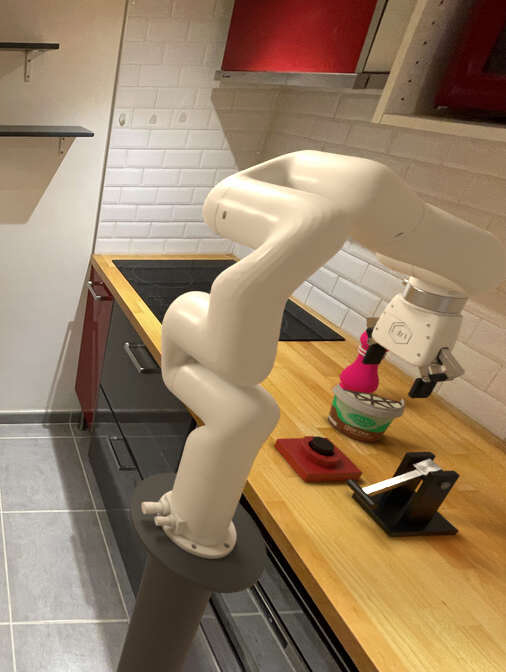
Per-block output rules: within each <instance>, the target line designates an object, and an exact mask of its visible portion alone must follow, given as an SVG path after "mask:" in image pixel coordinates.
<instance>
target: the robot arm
mask: <svg viewBox="0 0 506 672" xmlns="http://www.w3.org/2000/svg"><path fill="white" fill-rule="evenodd" d="M202 219H203V221H204V224H205V225H206V226H207V228H208V229H209V230H210V231H211V232H212V233H214V234H215V235H217V236H220V237H222V238H224V239H227V240H229V241H232V242H233V243H234V242H235V243H237V244H239V245H242V246H245V247H247V248H248V249H252V250H254V251H252V252H251V253H249V254H248V255H247V256H245V257H243V258H242V259H241V260H239V261H238V262H236V263H234V264H232V265H231V266H229V267H227V268H226V269H225V270H223V271H222V272H221V273H219V275H217V276H216V278H215V279H214V281H213V282H212V284H211V289H210V291H209V293H208V292H204V291H196V290H195V291H188V292H185V293H183V294H181V295H179V296H178V297H177V298H176V299H174V300H173V301H172V303H171V304H170V305H169V307H168V308H167V310H166V312H165V313H164V317H163V320H162V323H161V334H160V344H161V345H160V350H161V351H160V355H161V356H160V357H161V359H160V360H161V361H160V363H161V365H160V366H161V367H160V368H161V376H162V380H163V383H164V385H165V386H166V388H167V389H168V391H169V392H170V393H172V394H173V395H174V396H175V397H176V398H177V399H178V400H179V401H181V403H183V404H184V406H186V407H188V408H189V409H190V410H191V411H192V412H193V413H194V414H195V415H196V416H197V417H198V418H199V419H200V420H201V421H202V422H203V423H204V425H202V426H199V427H196V428H195V429H193V430H192V431H191V432H190V433H189V434H188V436H187V438H186V441H185V444H184V447H183V451H182V455H181V459H180V461H179V466H178V469H177V472H176V473H177V476H176V479H175V483H174V486H173V490H172V491H169V492H167V493H166V494H164V495H163V496H162V498H161V499H160V500H159V501H158V502H142V504H141V507H142V511H143V513H144V514H155V513H157V514H158V517H155V518H154V520H155V524H156V525H157V526H161V527H162V528H163V530H164V531H165V533H166V534H167V536H168V537H169V538H170V539H171V540H172V541H173V542H174V543H176V544H177V545H178V546H179V547H181V548H182V549H184V550H185V551H187V552H189V553H191V554H193V555H196V556H199V557H202V558H208V559H218V558H222V557H225V556H226V555H228V554H229V553H230V552H231V551H232V550H233V548H234V546H235V543H236V539H237V538H236V530H235V526H234V524H233V522H232V518H233V516H234V513H235V510H236V508H237V505H238V503H239V502H240V500H241V497H242V494H243V492H244V489H245V486H246V484H247V480H248V479H249V475H250V473H251V470H252V467H253V466H254V463H255V460H256V458H257V457H258V454H259V452H260V450H261V449H262V447H263V445H264V444H265V443H266V441H267V440H268V438H269V437H270V436H271V435H272V433H273V432H274V430H275V429H276V427H277V426H278V424H279V421H280V418H281V409H280V406H279V403H278V401H277V400H276V399H275V397H274V396H273V395H272V394H271V393H270V392H269V391H268V389H266V388H265V387H264V386H262V385H261V383H263V382H264V381H265V380H266V379H267V378H268V377H269V376H270V375H271V372H272V371H273V368H274V365H275V362H276V357H277V352H278V347H279V341H280V334H281V328H282V323H283V322H282V321H283V316H284V311H285V307H286V303H287V302H288V300H289V298H290V297H291V296H292V295H293V294H294V292H295V291H296V290H298V288H299V287H300V286H302V285H303V284H304V283H305V282H306V281H307V280H308V279H310V278H311V277H312V276H313V275H314V274H315V273H316V272H318V271H319V270H320V269H321V268H322V267H323V266H325V265H326V264H327V263H328V262H329V261H330V260H331V259H333V258H334V257H335V256H336V255H337V254H338V253H339V252H340V250H342V249H343V247H344V245H345V244H346V242H347V241H348V239H349V237H350V238H352V239H353V240H354V241H355V242H357V243H358V244H360V245H361V246H362V247H364V248H366V249H368V250H370V251H372V252H375V256H376V258H377V260H378V261H379V263H380V264H381V265H383V266H384V267H385V268H387V269H389V270H392V271H395V272H397V273H400V274H403V275H406V276H408V277H409V278H405V279H404V280H403V281H402V285H403V286H404V289H403V291H402V292H400V293H397V294H396V295H395V296H394V297H393V298H392V299H391V301H389V303H388V304H387V306H386V307H385V308H384V310H383V311H382V313H381V315H380V316H368V317H366V329H365V331H366V333H367V336H368V340H367V344H368V345H369V347H368V349H367V351H366V353H365V356H364V358H363V360H362V363H363V364H366V365H370V364H379V365H380V364H381V362H382V361H383V360H382V358H383V356H384V354H385V352H386V350H389V352H390V353H392V354H393V355H394V356H396V357H398V358H399V359H401V360H403V361H404V362H406V363H407V364H409V365H411V366H413V367H417V368H418V371H419V375H420V377H416V378H415V380H414V382H413V384H412V386H411V388H410V389H409V391H408V393H407V397H409V398H410V399H427V398H429V397H430V396H431V395H432V393H433V391H434V389H435V388H436V386H437V384H438V383H443V382H451V381H454V380H455V379H457V378H459V377H461V376H463V375H464V374H465V373H466V372H465V369H464V368H463V367H462V365H461V364H460V363H459V362H458V360H457V359H456V358H455V356H454V355H453V354H452V353H453V350H454V348H455V345H456V343H457V341H458V339H459V335H460V331H461V328H462V325H463V324H462V323H463V318H464V316H463V315H462V314H461V313H462V312H463V310H464V308H465V306H466V304H467V302H468V300H469V298H470V296H480V295H484V294H487V293H490V292H491V291H493V290H495V289H496V288H497V287H499V286H500V285H501V284H502V283H503V282H504V281H505V279H506V246H505V245H504V244H503V243H502V242H501V241H500V239H498V238H497V236H496V235H495V234H494V233H492V232H491V231H488V230H485V229H483V228H481V227H479V226H477V225H475V224H473V223H471V222H468V221H466V220H463V219H462V218H459V217H457V216H456V215H453V214H451V213H450V212H447V211H445V210H443V209H441V208H440V207H437V206H435V205H433V204H430V203H428V202H425V201H424V200H423V199H422V198H421V197H420V196H419V195H418V194H417V193H416V192H415V191H414V190H413V189H412V188H411V187H410V186H409V185H408V184H407V183H406V182H405V181H404V179H402V178H401V177H400V176H399V175H398V174H397V173H396V172H395V171H394V170H392V168H390V167H389V166H387V165H385V164H384V163H382V162H379V161H376V160H373V159H369V158H364V157H358V156H352V155H345V154H339V153H334V152H327V151H321V150H315V149H305V150H298V151H294V152H290V153H286V154H283V155H280V156H277V157H275V158H271V159H269V160H267V161H264V162H262V163H259V164H256V165H254V166H251V167H249V168H246V169H244V170H240V171H238V172H236V173H234V174H232V175H230V176H228V177H226V178H224V179H222V180H221V181H220V182H219V183H217V184H216V185H215V186H214V187H213V188H212V189H211V190H210V192H209V193H208V194H207V196H206V198H205V200H204V202H203V206H202ZM386 353H387V352H386ZM443 366H444V367H445V370H444V371H443V370H442V367H443ZM429 367H430V368H429ZM430 371H431V372H430Z"/></svg>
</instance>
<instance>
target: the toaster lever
mask: <svg viewBox="0 0 506 672" xmlns="http://www.w3.org/2000/svg"><path fill="white" fill-rule="evenodd" d="M413 469H414V471H411V472H408V473H406V474H403V475H400V476H397V477H394V478H392V477H391V478H388V479H386V480H382V481H380V482H377V483H375V484H374V483H373V484H372V485H367V486H365V487H362V486H361V485H360V484H359V483H358V482H357V480H353V479H350V480H348V481H346V482H345V484H346V486H348V487H349V489H350V490H351V491H352V492H353V493H355V494H356V495H357V496H358V497H359V498H360V499H361V500H362V501H363V502H364V503H365V504H366V505H367V506H368V507H369V508H370V509H371V510H374V509H376V508H377V507H378V504H377V503H376V502H375V501H374V500H373V499H372V498H371V497H370V496H373V495H376V494H379V493H382V492H385V491H388V490H391V489H393V488H396V487H399V486H402V485H405V484H408V483H411V482H414V481H417V480H420V479H421V482H423V481H424V479H425V477H426V476H427V474H428V472H429V471H444V470H443V469H444V468H442V467H441V466H440V465H438V463H436V462H435V461H434V460H433V461H432V460H431V459H427V460H425V461H422V462H419V463H416V464H413Z"/></svg>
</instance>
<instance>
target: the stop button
mask: <svg viewBox="0 0 506 672" xmlns="http://www.w3.org/2000/svg"><path fill="white" fill-rule="evenodd" d="M325 438H326V437H322V436H320V435H319V436H317V435H316V436H315V437H313V438H312V441H311V443H310V448H311V449H312V450H313V451H315V452H316V453H318V454H320V455H323V456H331V454H332V452H333V450H334V445H335V444H334V442H332V441H331V440H330V439H329V440H330V441H331V442H330V441H329V440H327V439H325ZM333 444H334V445H333Z"/></svg>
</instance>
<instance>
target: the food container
mask: <svg viewBox="0 0 506 672" xmlns="http://www.w3.org/2000/svg"><path fill="white" fill-rule="evenodd" d="M331 391H332V393H333V394H334V395H333V398H332V402H331V406H330V410H329V412H328V413H329V414H328V418H327V421H328V423H329V424H330V425H331V427H332V429H334V430H336V431H337V432H338V433H340V434H341V435H343V436H345V437H347V438H349V439H352V440H355V441H357V442H360V443H367V444H374V443H377V442H378V441H379V440H380V439H381V438H382V436H384V434H385V432H386V431H387V429H388V428H389V427H390V425H391V424H392V423H393V421H394V420H395V419H397V418H400V417H402V416H403V415H404V412H405V408H406V406H405V400H404V398H401V400H400V401H398V400H393V399H389V398H385V397H382V396H379V395H376V394H373V393H365V392H357V391H351V390H347V389H343V388H341V387H340V385H339V383H337V384H336V385H335V386H334V387H333V388H332V389H331Z"/></svg>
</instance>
